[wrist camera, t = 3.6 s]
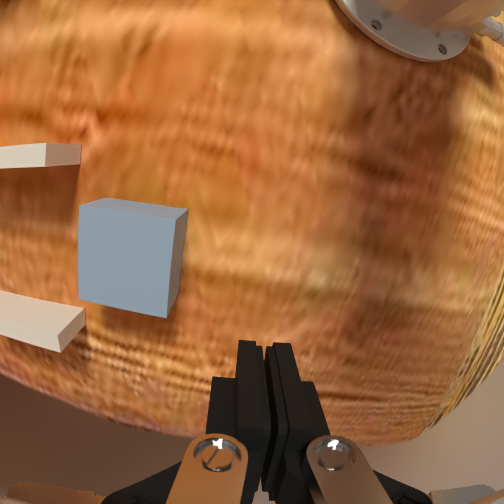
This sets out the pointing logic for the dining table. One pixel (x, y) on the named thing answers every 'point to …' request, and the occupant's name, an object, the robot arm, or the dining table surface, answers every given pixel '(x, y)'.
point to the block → (130, 254)
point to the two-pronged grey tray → (31, 309)
